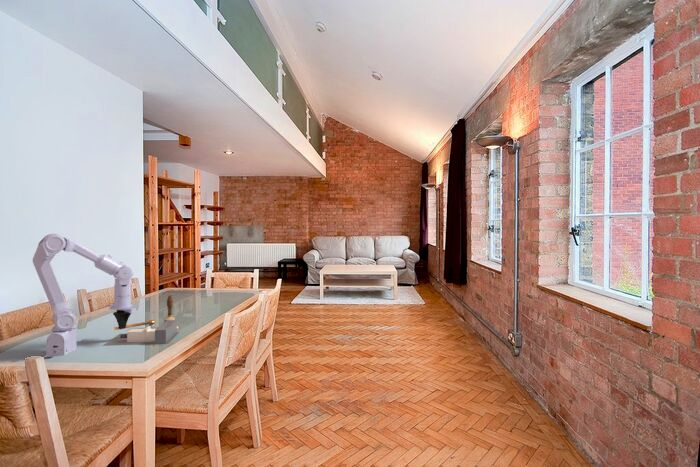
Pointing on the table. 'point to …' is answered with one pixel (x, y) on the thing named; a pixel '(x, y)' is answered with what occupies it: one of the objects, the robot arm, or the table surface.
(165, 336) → the grey base plate
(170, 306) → the hand bell
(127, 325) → the ball-topped lever
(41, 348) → the table surface
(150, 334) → the plug
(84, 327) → the table surface
